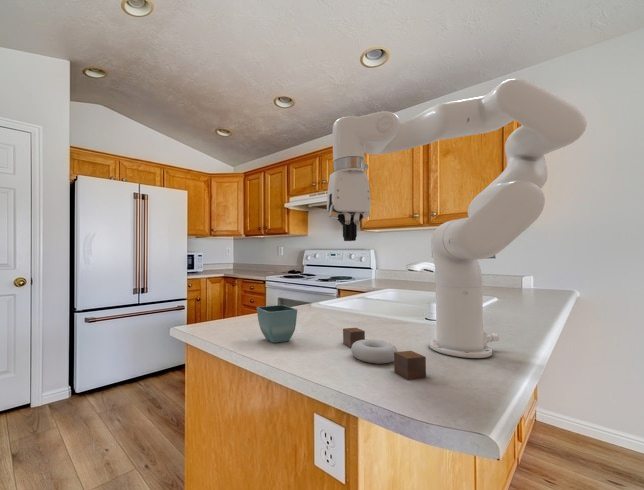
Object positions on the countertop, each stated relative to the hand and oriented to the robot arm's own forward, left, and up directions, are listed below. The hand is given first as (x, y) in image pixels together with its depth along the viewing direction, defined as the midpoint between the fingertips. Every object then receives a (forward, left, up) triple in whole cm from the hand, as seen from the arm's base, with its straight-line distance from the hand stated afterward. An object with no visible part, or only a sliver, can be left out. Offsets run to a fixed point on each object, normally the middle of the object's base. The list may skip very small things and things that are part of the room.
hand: (349, 240), depth 80 cm
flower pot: (+16, -12, -27) cm, 34 cm away
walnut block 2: (-2, +18, -27) cm, 33 cm away
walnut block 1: (-2, -2, -27) cm, 27 cm away
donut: (-1, +8, -27) cm, 28 cm away
